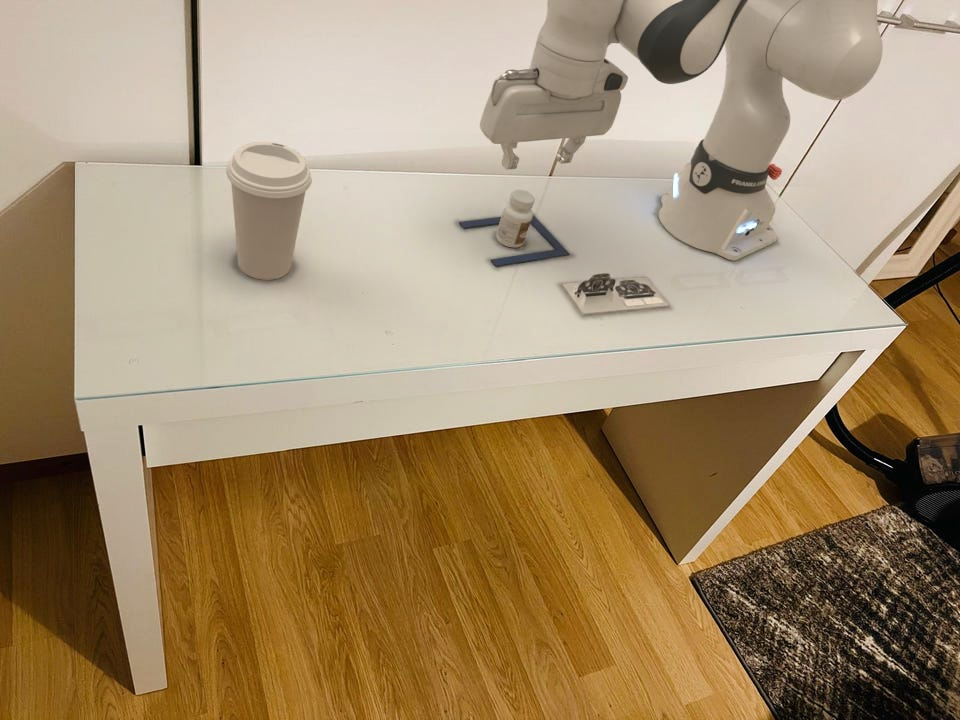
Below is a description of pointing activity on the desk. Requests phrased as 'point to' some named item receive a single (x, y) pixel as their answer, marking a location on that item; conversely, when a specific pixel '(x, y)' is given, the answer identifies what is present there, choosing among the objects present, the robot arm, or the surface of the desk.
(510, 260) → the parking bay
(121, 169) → the desk surface
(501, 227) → the pill bottle
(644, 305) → the car cutout
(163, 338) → the desk surface
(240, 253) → the coffee cup
